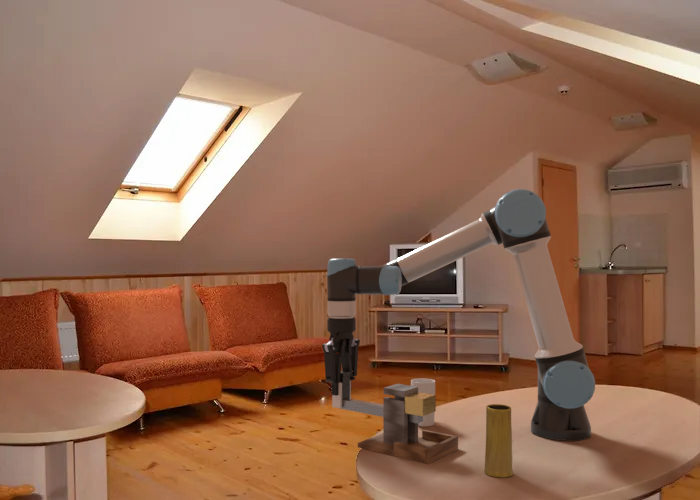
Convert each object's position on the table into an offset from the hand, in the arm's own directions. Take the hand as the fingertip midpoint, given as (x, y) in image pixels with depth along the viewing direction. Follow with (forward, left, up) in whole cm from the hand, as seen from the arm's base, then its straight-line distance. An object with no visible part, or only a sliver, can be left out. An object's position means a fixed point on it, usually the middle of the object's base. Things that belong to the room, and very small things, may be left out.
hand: (341, 405), depth 167 cm
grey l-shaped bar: (-11, 0, 0) cm, 11 cm away
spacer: (-24, 0, +2) cm, 24 cm away
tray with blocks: (-20, 0, -7) cm, 22 cm away
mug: (-11, -23, -7) cm, 27 cm away
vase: (-45, +3, -7) cm, 46 cm away
